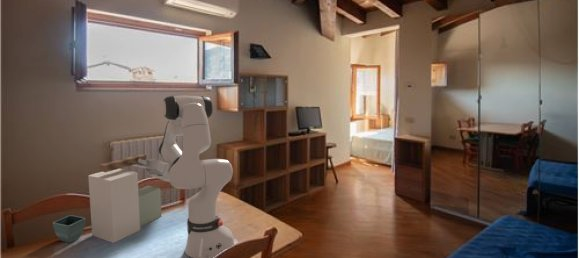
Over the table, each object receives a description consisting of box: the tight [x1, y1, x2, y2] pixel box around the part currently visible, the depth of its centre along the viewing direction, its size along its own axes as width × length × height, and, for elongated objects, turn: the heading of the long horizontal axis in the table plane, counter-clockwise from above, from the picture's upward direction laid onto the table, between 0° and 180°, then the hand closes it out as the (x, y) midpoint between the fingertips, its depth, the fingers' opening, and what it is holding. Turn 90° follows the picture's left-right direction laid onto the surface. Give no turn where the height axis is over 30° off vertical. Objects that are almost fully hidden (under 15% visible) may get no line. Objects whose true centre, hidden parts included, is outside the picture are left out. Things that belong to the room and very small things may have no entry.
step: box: [138, 185, 162, 227], centre depth 175 cm, size 15×8×15 cm, turn 154°
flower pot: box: [52, 214, 86, 243], centre depth 155 cm, size 9×9×9 cm
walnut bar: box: [99, 153, 147, 172], centre depth 163 cm, size 22×4×3 cm, turn 154°
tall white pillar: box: [87, 168, 141, 244], centre depth 160 cm, size 14×14×28 cm
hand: (133, 159), depth 167 cm, fingers closed on walnut bar, 3 cm apart
